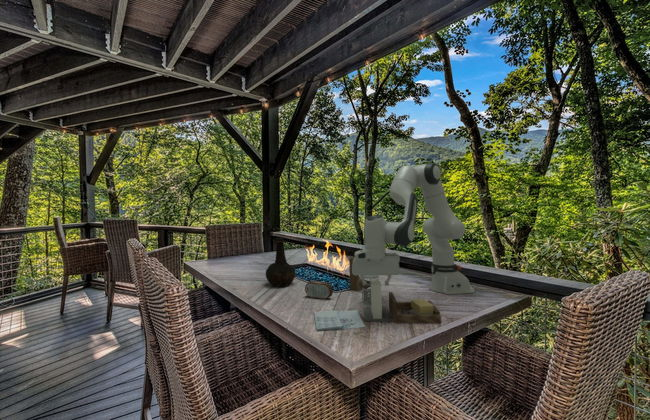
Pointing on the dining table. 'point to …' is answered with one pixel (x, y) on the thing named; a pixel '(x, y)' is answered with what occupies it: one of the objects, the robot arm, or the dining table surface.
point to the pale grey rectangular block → (376, 299)
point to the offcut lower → (419, 313)
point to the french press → (367, 291)
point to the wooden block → (354, 278)
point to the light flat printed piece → (338, 320)
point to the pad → (370, 319)
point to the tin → (318, 289)
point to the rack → (411, 317)
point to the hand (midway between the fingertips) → (375, 285)
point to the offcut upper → (422, 306)
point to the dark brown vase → (280, 267)
